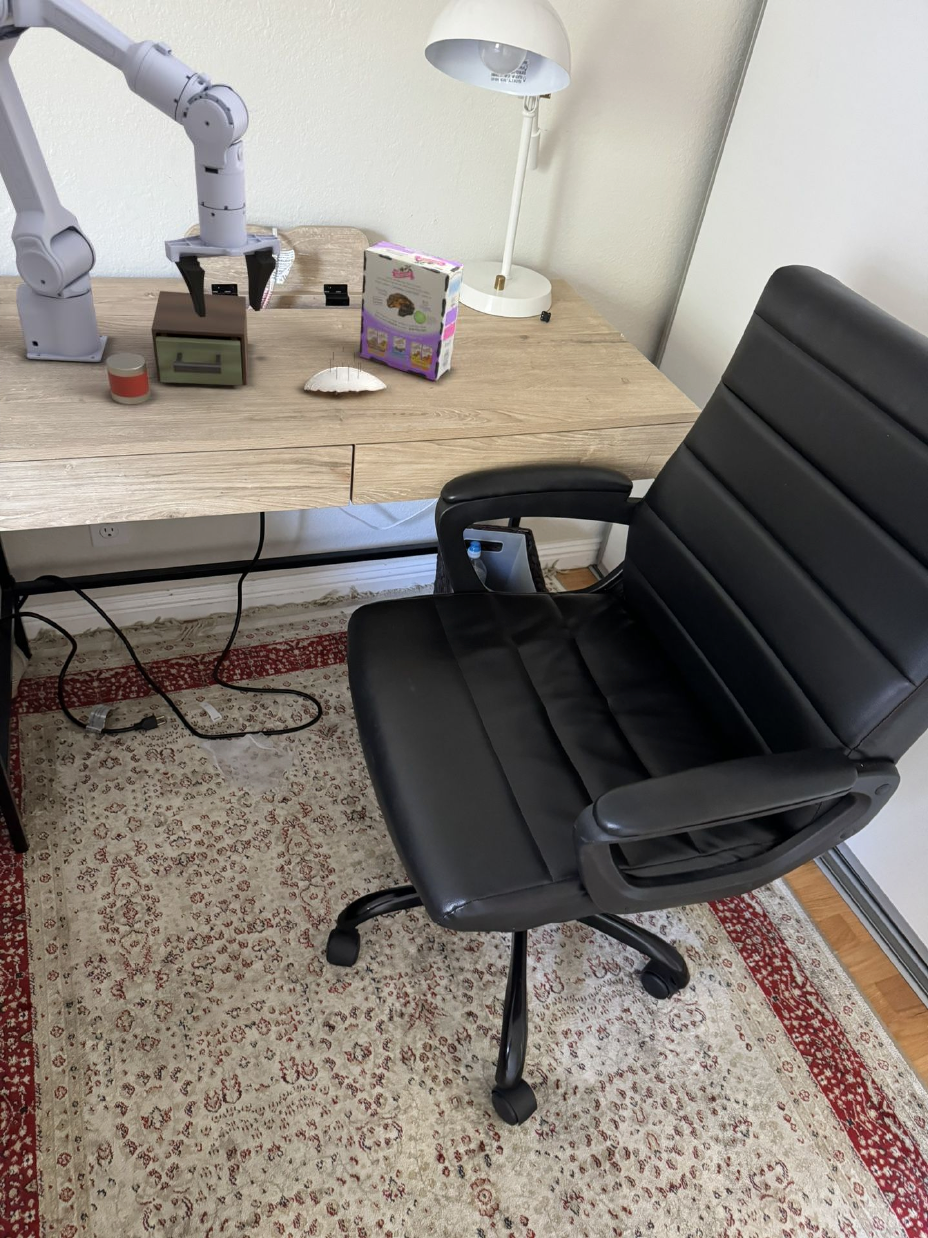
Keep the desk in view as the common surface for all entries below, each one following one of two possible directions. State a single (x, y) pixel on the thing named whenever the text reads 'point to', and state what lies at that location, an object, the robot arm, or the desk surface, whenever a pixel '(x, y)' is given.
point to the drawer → (199, 359)
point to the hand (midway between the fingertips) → (228, 311)
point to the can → (128, 378)
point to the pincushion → (344, 380)
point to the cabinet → (202, 320)
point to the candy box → (409, 309)
